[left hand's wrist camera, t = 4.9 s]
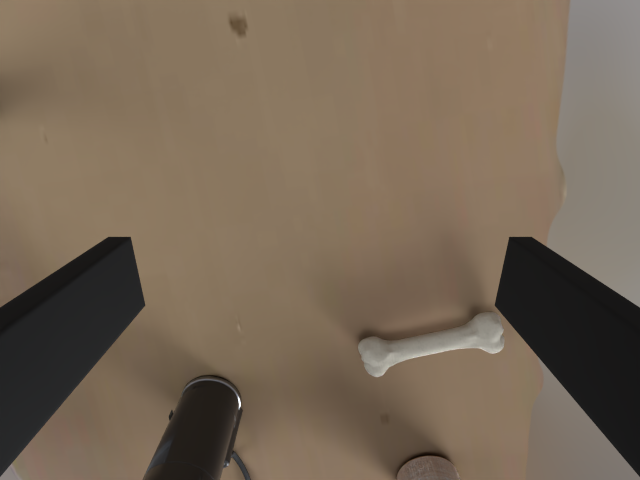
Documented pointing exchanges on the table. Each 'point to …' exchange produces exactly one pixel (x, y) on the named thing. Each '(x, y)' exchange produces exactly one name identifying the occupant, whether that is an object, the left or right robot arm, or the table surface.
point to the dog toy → (432, 343)
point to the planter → (428, 469)
